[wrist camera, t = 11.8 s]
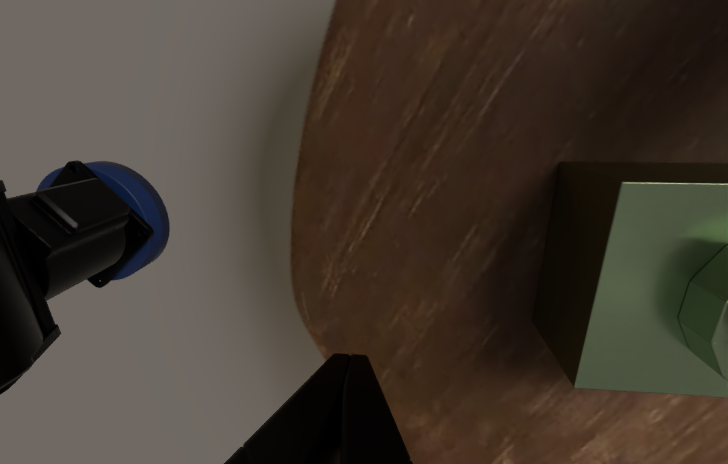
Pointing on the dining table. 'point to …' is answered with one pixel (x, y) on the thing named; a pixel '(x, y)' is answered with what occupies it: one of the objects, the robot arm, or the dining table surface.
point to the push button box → (638, 277)
